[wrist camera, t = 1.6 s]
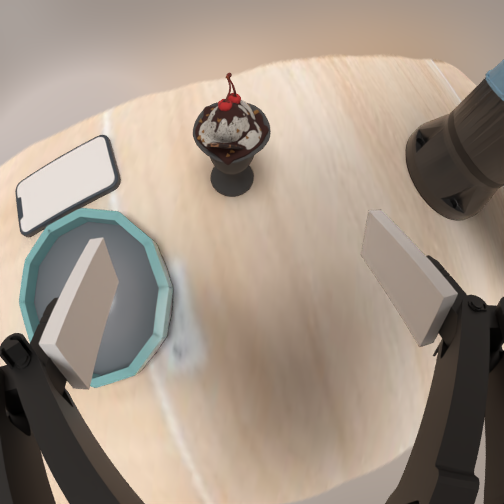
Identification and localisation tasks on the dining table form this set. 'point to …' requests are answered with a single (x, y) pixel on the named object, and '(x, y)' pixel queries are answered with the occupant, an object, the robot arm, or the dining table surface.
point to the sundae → (231, 141)
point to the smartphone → (66, 185)
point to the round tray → (126, 296)
